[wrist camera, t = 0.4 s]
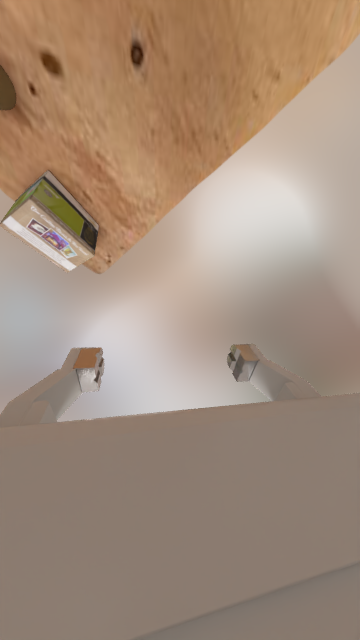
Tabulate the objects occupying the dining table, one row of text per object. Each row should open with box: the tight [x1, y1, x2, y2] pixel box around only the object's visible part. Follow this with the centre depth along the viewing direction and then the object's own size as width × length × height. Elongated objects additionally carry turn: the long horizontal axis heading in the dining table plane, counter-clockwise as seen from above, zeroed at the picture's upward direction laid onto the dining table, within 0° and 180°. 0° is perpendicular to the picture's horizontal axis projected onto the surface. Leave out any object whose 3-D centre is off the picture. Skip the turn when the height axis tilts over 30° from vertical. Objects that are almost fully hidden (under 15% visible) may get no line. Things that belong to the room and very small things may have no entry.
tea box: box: [0, 170, 99, 273], centre depth 44 cm, size 15×10×15 cm, turn 26°
